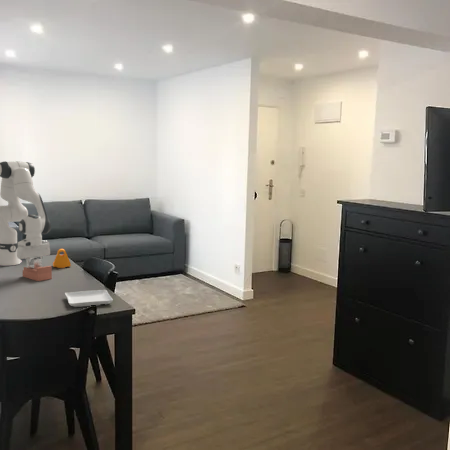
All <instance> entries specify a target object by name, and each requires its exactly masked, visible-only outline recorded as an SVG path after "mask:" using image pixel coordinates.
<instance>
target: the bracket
mask: <svg viewBox="0 0 450 450" xmlns="http://www.w3.org/2000/svg"><path fill="white" fill-rule="evenodd" d="M62 252H63V254H60V253H62ZM52 267H53V268H57V269H61V268H62V269H64V268H65V267H71V261H70V258H69V256H68V254H67V251H66V250H65V249H64V248H59V249H57V252H56V256H55V258H54V261H53V262H52ZM65 269H66V268H65Z"/></svg>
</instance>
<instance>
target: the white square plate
mask: <svg viewBox="0 0 450 450" xmlns="http://www.w3.org/2000/svg"><path fill="white" fill-rule="evenodd" d="M64 295H65V296H66V299H67V302H68V304H69V305H70V306H71V307H74V308H79V307H80V308H81V307H92V306H91V305H96V306H101V305H100V304H105V305H109V304H111V303H112V302H113V301H114V299H113V297H112V296H111V295H110V294H109V292H108V290H107V289H96V290H95V289H94V290H92V289H91V290H81V291H70V292H64Z"/></svg>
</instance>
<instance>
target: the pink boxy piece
mask: <svg viewBox="0 0 450 450" xmlns="http://www.w3.org/2000/svg"><path fill="white" fill-rule="evenodd" d="M52 267H53V265H46V266H45V265H44V266H42V267H39V268H36V270H34V269H30V268H27V266H24V267H23V269H22V277H23V278H26V279H30V280H32V281H35V282H42V281H47V280H52V278H53V277H52V276H53V275H52V271H53V268H52Z"/></svg>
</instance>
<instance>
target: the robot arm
mask: <svg viewBox="0 0 450 450" xmlns="http://www.w3.org/2000/svg"><path fill="white" fill-rule="evenodd" d="M35 170H36V169H35V166H34V164H33V163H31V162H28V161H26V162H25V161H21V160H20V161H16V160H15V161H0V178H1V181H0V182H1V183H0V198H1V199H2V200H3V201H5V202H7V203H8V205H0V266H15V265H20V264H21V263H22V262H23V261H22V260H23V259H24V260H25V262H26V266H27V265H31V262H29V260H30V258H33V257H37V258H41V259H42V260H43V257H47V256H50V255H51V247H50V244H51V243H50V241H48V240H43V235H47V234H49V232H51V230H52V223H51V221H50V218H49V216H48V213H47V211H46V210H47V209H46V207H45V204H44V201H43V198H42V196H41V194H40V193H39V192H37V191H36V188H35V187H34V182H33V177H34V176H35V173H36V171H35ZM21 200H22V201H25V202H29V203H31V204H32V205H34V206H35V208H36V212H37V214H35V213H30V214H29V210H28V209H27V206H25V205H23V203H22V202H21ZM13 222H14V223H15V222H18V231H19V232H20V233H21V234H23V235H26V236H25V238H23V239H21V240H20V241H18V232H17V230H16V229H15V228H14V227H11V226H10V225H9V223H13Z"/></svg>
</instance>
